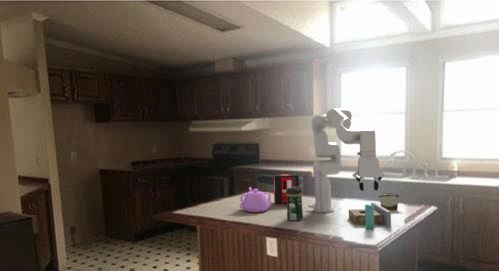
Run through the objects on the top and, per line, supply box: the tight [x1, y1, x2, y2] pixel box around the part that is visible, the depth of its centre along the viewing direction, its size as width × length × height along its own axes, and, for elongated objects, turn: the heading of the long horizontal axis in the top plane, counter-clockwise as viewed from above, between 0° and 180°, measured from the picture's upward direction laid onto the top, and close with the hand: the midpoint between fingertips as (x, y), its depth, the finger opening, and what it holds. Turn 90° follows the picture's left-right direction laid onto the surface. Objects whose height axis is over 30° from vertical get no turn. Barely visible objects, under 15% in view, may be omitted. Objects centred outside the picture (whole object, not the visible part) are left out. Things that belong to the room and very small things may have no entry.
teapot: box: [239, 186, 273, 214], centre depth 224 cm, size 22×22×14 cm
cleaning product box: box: [273, 173, 300, 205], centre depth 241 cm, size 16×9×20 cm, turn 90°
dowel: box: [364, 203, 375, 231], centre depth 172 cm, size 4×4×12 cm
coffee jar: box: [286, 186, 304, 222], centre depth 196 cm, size 10×8×19 cm
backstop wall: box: [370, 202, 392, 228], centre depth 186 cm, size 2×24×8 cm, turn 179°
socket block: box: [348, 208, 383, 226], centre depth 186 cm, size 14×14×5 cm
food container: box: [378, 192, 400, 211], centre depth 215 cm, size 12×6×10 cm, turn 84°
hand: (368, 190), depth 172 cm, fingers open, 6 cm apart
